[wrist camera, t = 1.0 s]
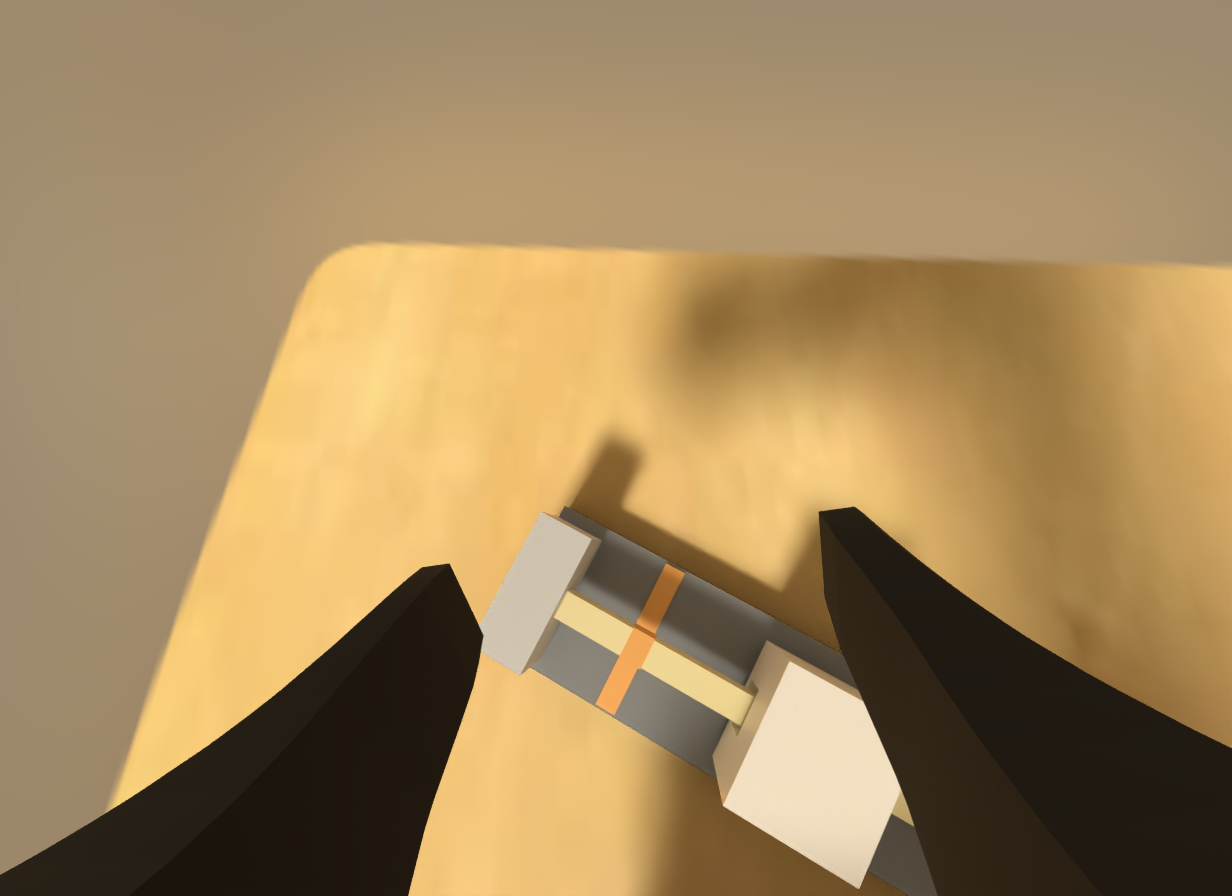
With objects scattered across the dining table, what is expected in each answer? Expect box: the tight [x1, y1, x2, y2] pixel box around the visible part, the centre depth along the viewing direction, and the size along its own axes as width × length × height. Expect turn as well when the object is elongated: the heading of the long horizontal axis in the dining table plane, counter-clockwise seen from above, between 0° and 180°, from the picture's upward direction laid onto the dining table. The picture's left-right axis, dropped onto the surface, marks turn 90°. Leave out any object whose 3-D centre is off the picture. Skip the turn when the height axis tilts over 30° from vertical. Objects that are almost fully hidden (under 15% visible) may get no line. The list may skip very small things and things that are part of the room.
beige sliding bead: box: [712, 640, 901, 889], centre depth 17 cm, size 4×4×4 cm
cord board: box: [479, 506, 938, 896], centre depth 18 cm, size 22×6×4 cm, turn 62°
